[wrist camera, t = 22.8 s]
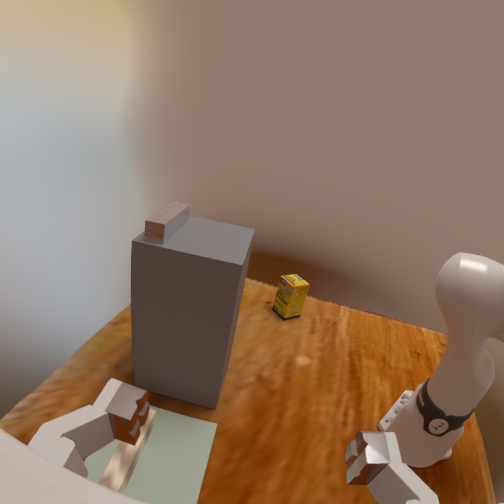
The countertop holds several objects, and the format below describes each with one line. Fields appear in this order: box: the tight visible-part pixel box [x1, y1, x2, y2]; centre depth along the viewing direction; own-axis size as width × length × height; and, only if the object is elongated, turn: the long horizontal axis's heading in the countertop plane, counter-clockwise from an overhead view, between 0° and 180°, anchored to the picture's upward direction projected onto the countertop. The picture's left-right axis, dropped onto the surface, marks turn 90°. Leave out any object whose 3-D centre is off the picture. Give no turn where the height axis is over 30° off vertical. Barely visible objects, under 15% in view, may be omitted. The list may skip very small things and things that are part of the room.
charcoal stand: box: [131, 216, 255, 409], centre depth 55 cm, size 16×16×30 cm
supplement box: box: [273, 274, 310, 320], centre depth 87 cm, size 6×6×11 cm
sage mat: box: [84, 405, 217, 504], centre depth 35 cm, size 32×18×1 cm, turn 173°
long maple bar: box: [99, 408, 156, 494], centre depth 37 cm, size 20×3×3 cm
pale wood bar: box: [144, 202, 190, 244], centre depth 49 cm, size 12×3×3 cm, turn 173°
